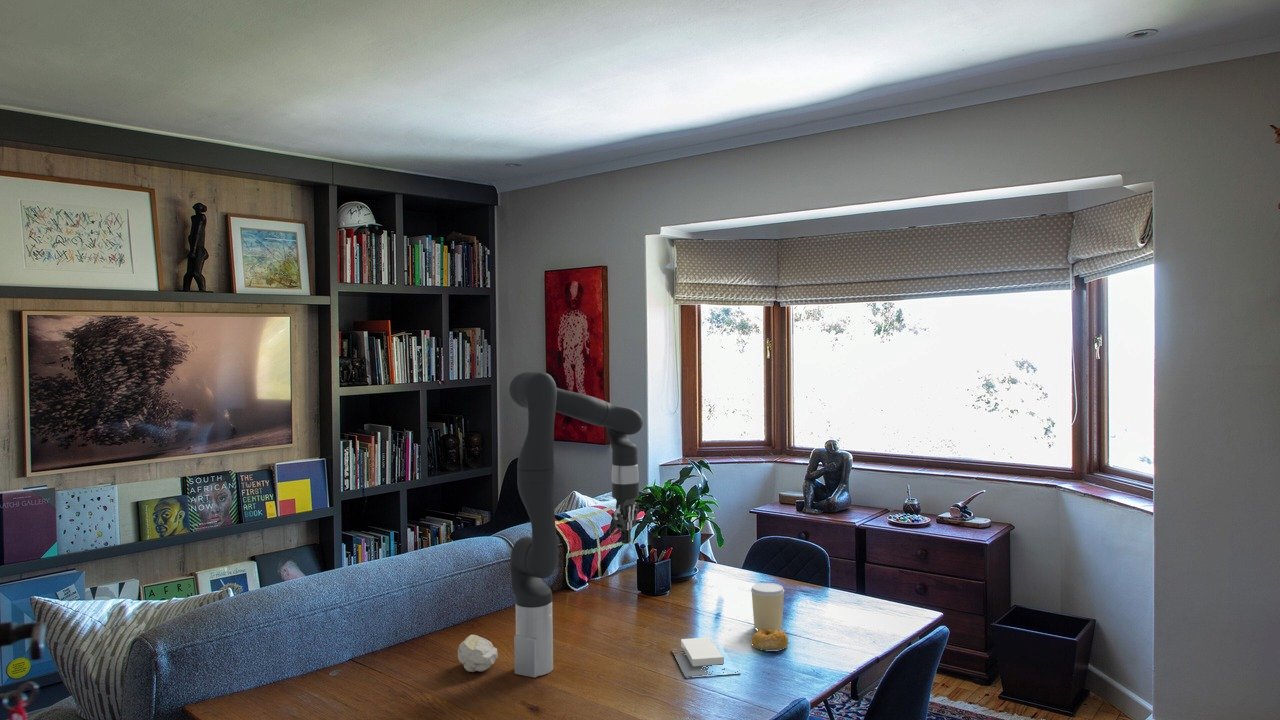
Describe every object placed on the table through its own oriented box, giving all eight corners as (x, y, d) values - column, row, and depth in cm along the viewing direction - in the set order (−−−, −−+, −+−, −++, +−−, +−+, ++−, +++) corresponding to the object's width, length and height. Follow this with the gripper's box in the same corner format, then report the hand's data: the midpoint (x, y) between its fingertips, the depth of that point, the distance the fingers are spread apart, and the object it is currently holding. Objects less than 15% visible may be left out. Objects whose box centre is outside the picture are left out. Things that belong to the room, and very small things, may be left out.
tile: (681, 639, 216) (692, 659, 203) (710, 637, 218) (723, 657, 204) (681, 647, 216) (692, 667, 203) (710, 644, 218) (723, 665, 204)
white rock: (494, 657, 213) (456, 666, 209) (491, 626, 213) (452, 634, 209) (503, 671, 201) (462, 680, 198) (499, 637, 202) (458, 646, 198)
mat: (671, 651, 215) (670, 649, 215) (721, 647, 217) (721, 645, 217) (685, 678, 197) (685, 676, 197) (740, 674, 199) (740, 672, 199)
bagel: (789, 639, 222) (789, 622, 222) (787, 655, 212) (786, 637, 211) (753, 637, 225) (752, 620, 224) (749, 653, 214) (748, 635, 214)
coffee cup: (783, 623, 235) (782, 582, 235) (785, 635, 226) (785, 592, 225) (750, 622, 236) (750, 582, 236) (752, 634, 227) (751, 591, 226)
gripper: (626, 485, 215) (627, 550, 216) (647, 477, 227) (648, 538, 227) (601, 483, 219) (602, 547, 219) (624, 476, 230) (624, 536, 231)
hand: (626, 542), depth 223 cm, fingers closed
